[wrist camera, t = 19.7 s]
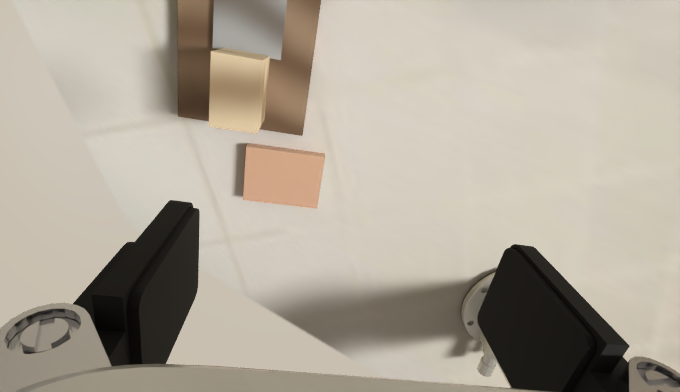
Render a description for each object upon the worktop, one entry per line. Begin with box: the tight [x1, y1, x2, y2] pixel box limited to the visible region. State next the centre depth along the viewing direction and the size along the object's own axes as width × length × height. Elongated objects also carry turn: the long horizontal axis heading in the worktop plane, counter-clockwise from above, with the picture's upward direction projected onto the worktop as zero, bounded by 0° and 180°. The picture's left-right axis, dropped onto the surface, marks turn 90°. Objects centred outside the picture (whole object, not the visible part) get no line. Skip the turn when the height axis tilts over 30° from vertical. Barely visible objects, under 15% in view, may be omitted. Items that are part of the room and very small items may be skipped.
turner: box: [209, 0, 287, 134], centre depth 31 cm, size 13×6×5 cm, turn 170°
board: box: [177, 0, 321, 136], centre depth 34 cm, size 14×12×1 cm
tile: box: [243, 143, 325, 208], centre depth 40 cm, size 6×2×8 cm
